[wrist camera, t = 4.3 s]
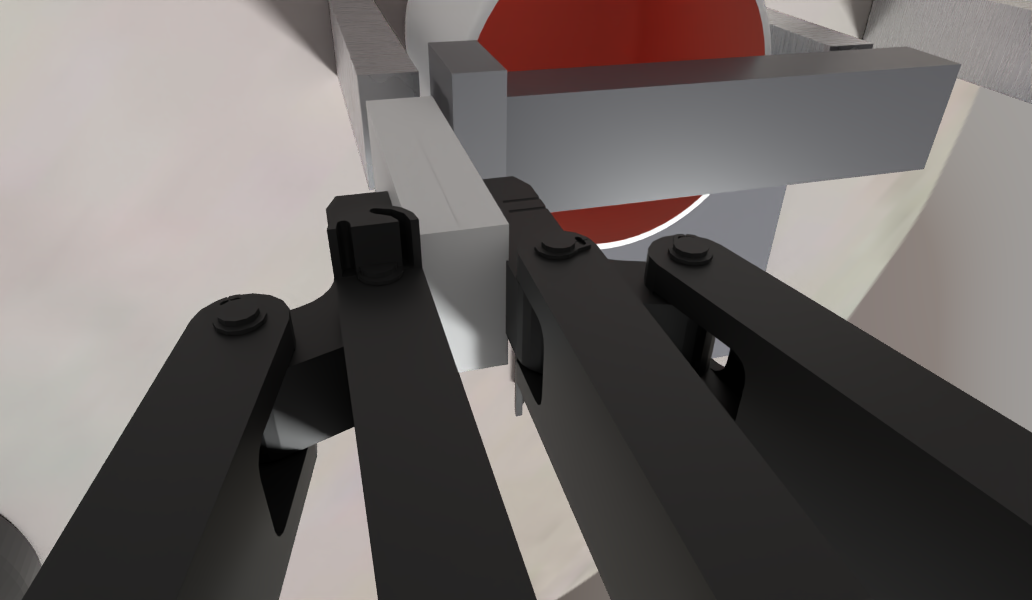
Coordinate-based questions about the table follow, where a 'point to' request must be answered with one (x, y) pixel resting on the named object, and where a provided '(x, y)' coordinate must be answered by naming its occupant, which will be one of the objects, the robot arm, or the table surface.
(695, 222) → the mat
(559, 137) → the bar
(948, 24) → the posts
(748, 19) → the cup
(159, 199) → the table surface
